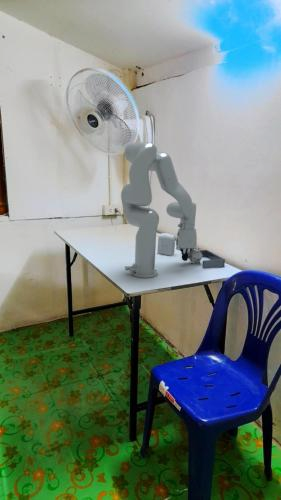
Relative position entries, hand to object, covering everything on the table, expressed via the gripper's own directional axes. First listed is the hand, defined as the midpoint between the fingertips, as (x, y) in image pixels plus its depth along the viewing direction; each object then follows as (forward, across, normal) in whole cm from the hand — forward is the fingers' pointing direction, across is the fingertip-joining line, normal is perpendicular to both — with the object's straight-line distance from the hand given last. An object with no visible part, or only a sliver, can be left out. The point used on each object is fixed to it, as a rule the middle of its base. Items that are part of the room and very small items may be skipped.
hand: (184, 260), depth 173 cm
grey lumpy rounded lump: (+2, +6, 0) cm, 6 cm away
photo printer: (+2, -3, +19) cm, 19 cm away
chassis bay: (+2, +12, 0) cm, 12 cm away
